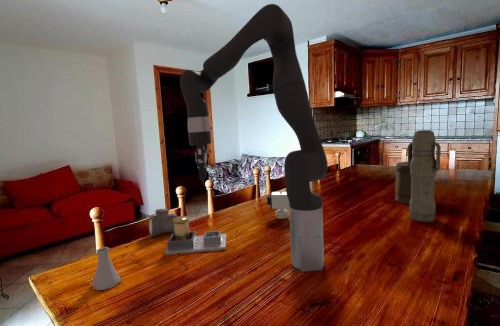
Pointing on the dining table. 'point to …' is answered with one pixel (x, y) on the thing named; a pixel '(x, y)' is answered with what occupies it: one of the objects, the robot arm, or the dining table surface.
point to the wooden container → (403, 183)
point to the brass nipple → (181, 228)
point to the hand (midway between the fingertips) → (203, 177)
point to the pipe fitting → (161, 222)
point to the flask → (105, 271)
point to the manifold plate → (197, 243)
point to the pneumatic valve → (279, 203)
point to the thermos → (423, 175)
